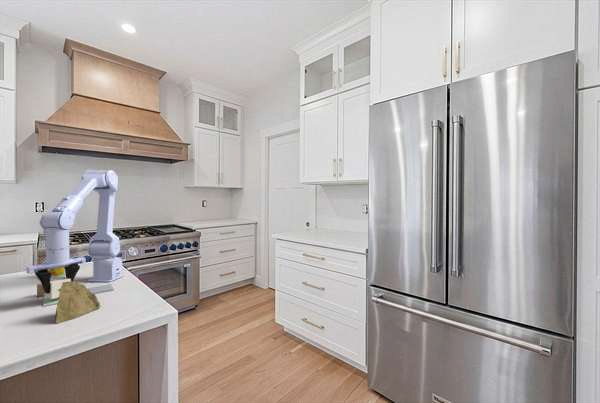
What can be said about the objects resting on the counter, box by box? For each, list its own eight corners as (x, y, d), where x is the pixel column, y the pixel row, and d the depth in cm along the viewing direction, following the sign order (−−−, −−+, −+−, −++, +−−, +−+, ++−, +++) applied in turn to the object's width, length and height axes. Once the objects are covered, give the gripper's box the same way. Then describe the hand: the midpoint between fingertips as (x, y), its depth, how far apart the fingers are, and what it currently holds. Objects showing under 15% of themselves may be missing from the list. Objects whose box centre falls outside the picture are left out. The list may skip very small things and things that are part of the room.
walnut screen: (71, 289, 98) (71, 278, 98) (72, 291, 96) (72, 280, 96) (37, 295, 92) (37, 283, 92) (36, 297, 90) (36, 286, 90)
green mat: (72, 294, 93) (72, 293, 93) (73, 300, 88) (73, 299, 88) (44, 299, 88) (44, 298, 88) (43, 306, 83) (43, 305, 83)
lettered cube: (63, 291, 91) (63, 276, 91) (71, 294, 89) (71, 279, 89) (44, 296, 87) (44, 280, 87) (51, 299, 85) (51, 283, 84)
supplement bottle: (45, 277, 111) (44, 253, 111) (60, 273, 116) (59, 251, 116) (54, 278, 110) (53, 254, 109) (69, 274, 115) (68, 252, 114)
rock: (102, 295, 87) (62, 297, 81) (105, 278, 83) (62, 279, 77) (97, 327, 79) (51, 331, 74) (99, 310, 75) (51, 313, 70)
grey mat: (110, 285, 103) (110, 284, 103) (113, 290, 97) (113, 289, 97) (87, 289, 98) (87, 288, 98) (89, 295, 93) (89, 293, 93)
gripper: (78, 243, 96) (78, 281, 96) (21, 251, 83) (22, 295, 83) (88, 245, 92) (89, 284, 93) (31, 253, 80) (32, 299, 80)
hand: (58, 290), depth 88 cm, fingers closed on lettered cube, 5 cm apart
